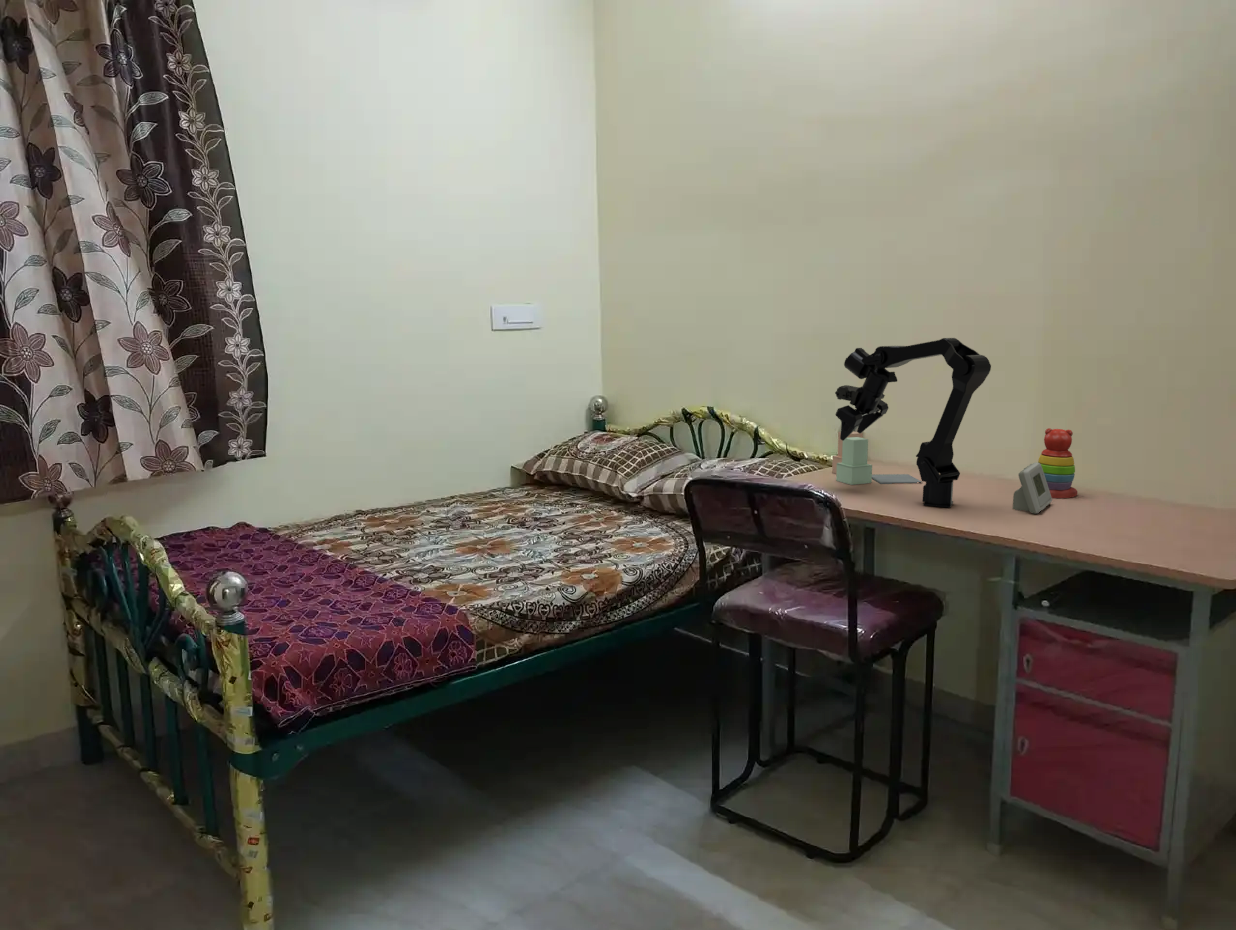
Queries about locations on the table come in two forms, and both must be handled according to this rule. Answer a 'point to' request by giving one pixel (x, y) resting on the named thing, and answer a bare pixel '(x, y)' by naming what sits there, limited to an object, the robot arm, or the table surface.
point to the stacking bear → (1058, 463)
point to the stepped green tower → (854, 462)
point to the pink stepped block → (840, 443)
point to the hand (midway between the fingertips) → (850, 436)
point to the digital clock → (1032, 490)
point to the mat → (894, 478)
